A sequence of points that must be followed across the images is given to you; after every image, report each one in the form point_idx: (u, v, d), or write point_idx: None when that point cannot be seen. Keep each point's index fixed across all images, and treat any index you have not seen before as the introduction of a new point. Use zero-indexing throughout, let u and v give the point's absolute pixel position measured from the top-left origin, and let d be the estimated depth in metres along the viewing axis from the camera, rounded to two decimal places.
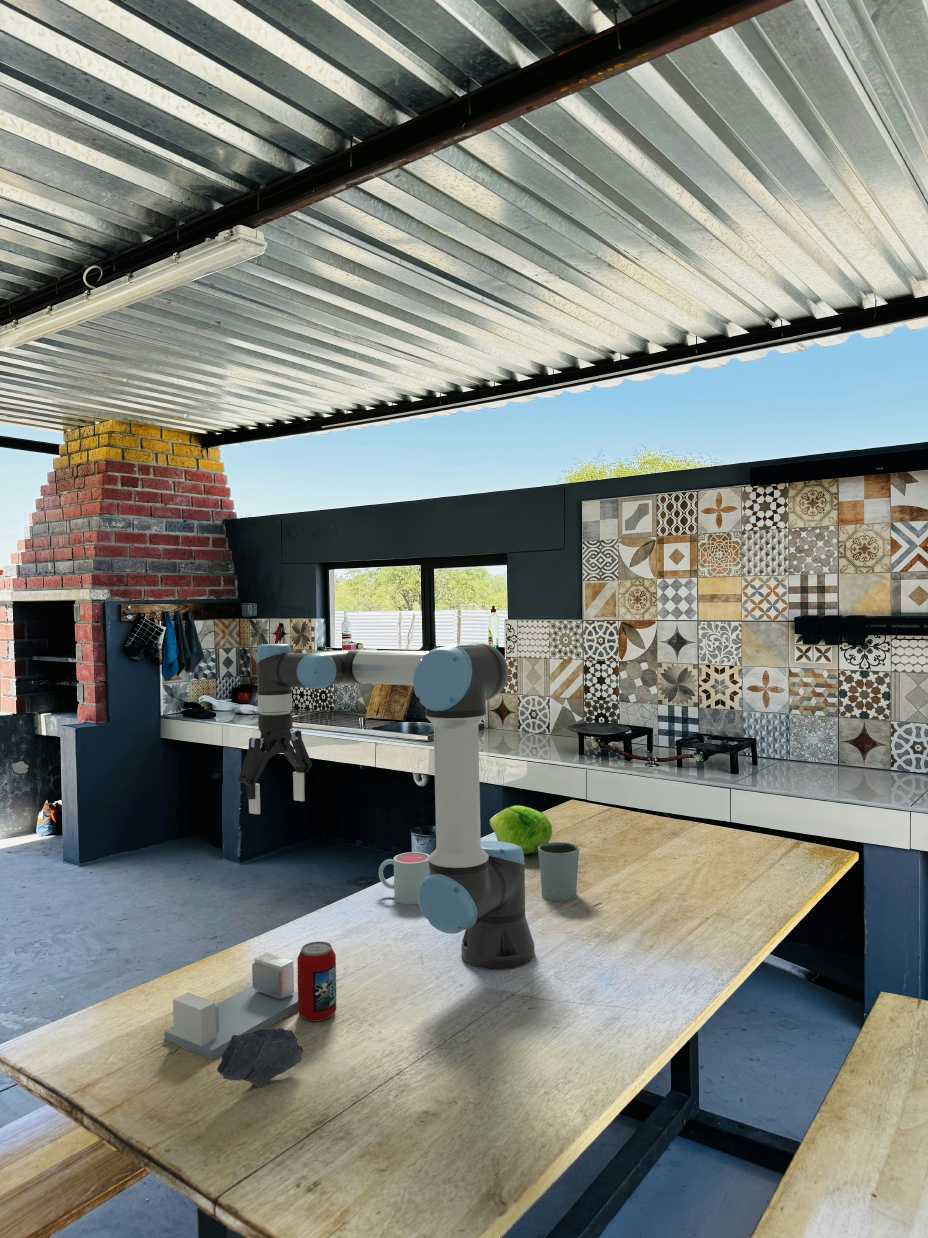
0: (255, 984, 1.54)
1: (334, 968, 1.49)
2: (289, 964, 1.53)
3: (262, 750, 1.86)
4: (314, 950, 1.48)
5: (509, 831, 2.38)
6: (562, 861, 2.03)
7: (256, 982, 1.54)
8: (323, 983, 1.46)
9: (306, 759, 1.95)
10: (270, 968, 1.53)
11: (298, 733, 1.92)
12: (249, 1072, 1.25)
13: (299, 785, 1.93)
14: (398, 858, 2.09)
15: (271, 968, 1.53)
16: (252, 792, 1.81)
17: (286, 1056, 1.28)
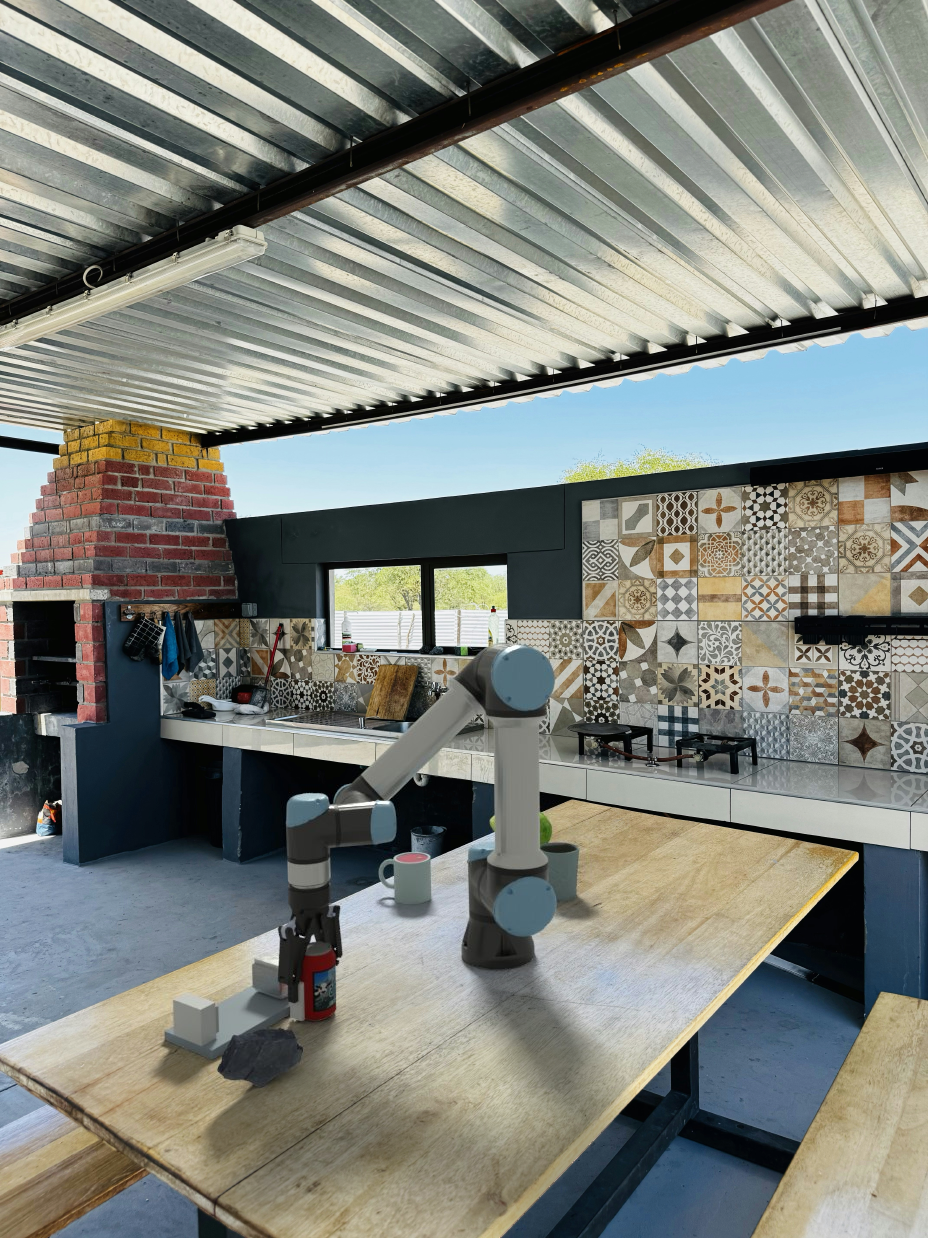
0: (255, 984, 1.54)
1: (334, 968, 1.49)
2: None
3: (296, 933, 1.49)
4: (313, 950, 1.49)
5: None
6: (562, 861, 2.03)
7: (256, 982, 1.54)
8: (322, 983, 1.46)
9: (338, 945, 1.54)
10: (270, 968, 1.53)
11: (337, 909, 1.54)
12: (249, 1072, 1.25)
13: None
14: (398, 858, 2.09)
15: (271, 968, 1.53)
16: (295, 994, 1.46)
17: (286, 1056, 1.28)
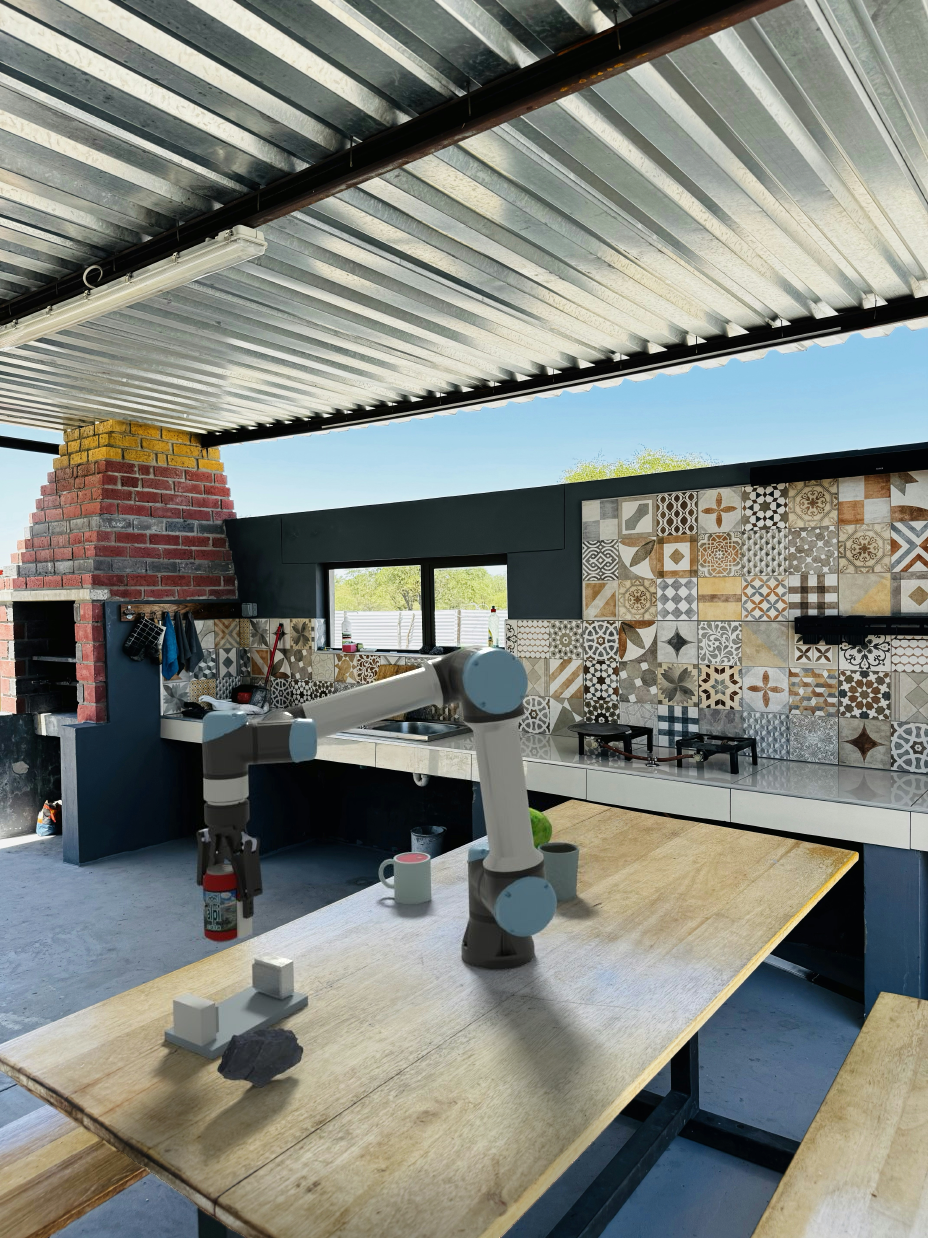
0: (255, 984, 1.54)
1: (213, 894, 1.42)
2: (289, 964, 1.53)
3: None
4: (218, 868, 1.45)
5: None
6: (562, 861, 2.03)
7: (256, 982, 1.54)
8: (203, 901, 1.43)
9: (247, 883, 1.42)
10: (270, 968, 1.53)
11: (245, 843, 1.42)
12: (249, 1072, 1.25)
13: None
14: (398, 858, 2.08)
15: (271, 968, 1.53)
16: None
17: (286, 1056, 1.28)
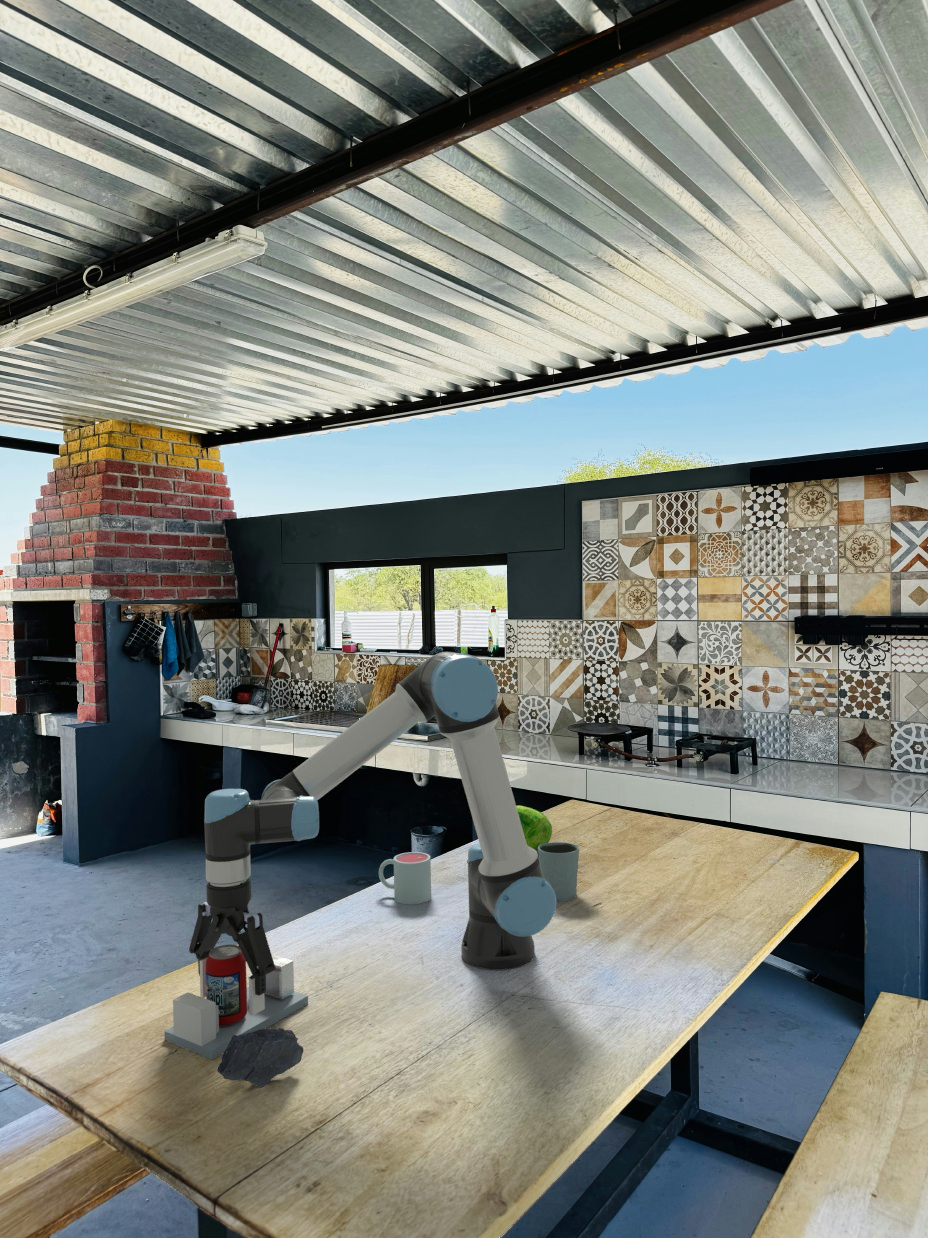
0: None
1: (216, 979, 1.42)
2: (289, 964, 1.53)
3: None
4: (221, 951, 1.45)
5: None
6: (562, 861, 2.03)
7: None
8: (206, 984, 1.44)
9: (257, 961, 1.41)
10: None
11: (247, 920, 1.42)
12: (249, 1072, 1.25)
13: None
14: (398, 858, 2.09)
15: None
16: (199, 967, 1.50)
17: (286, 1056, 1.28)
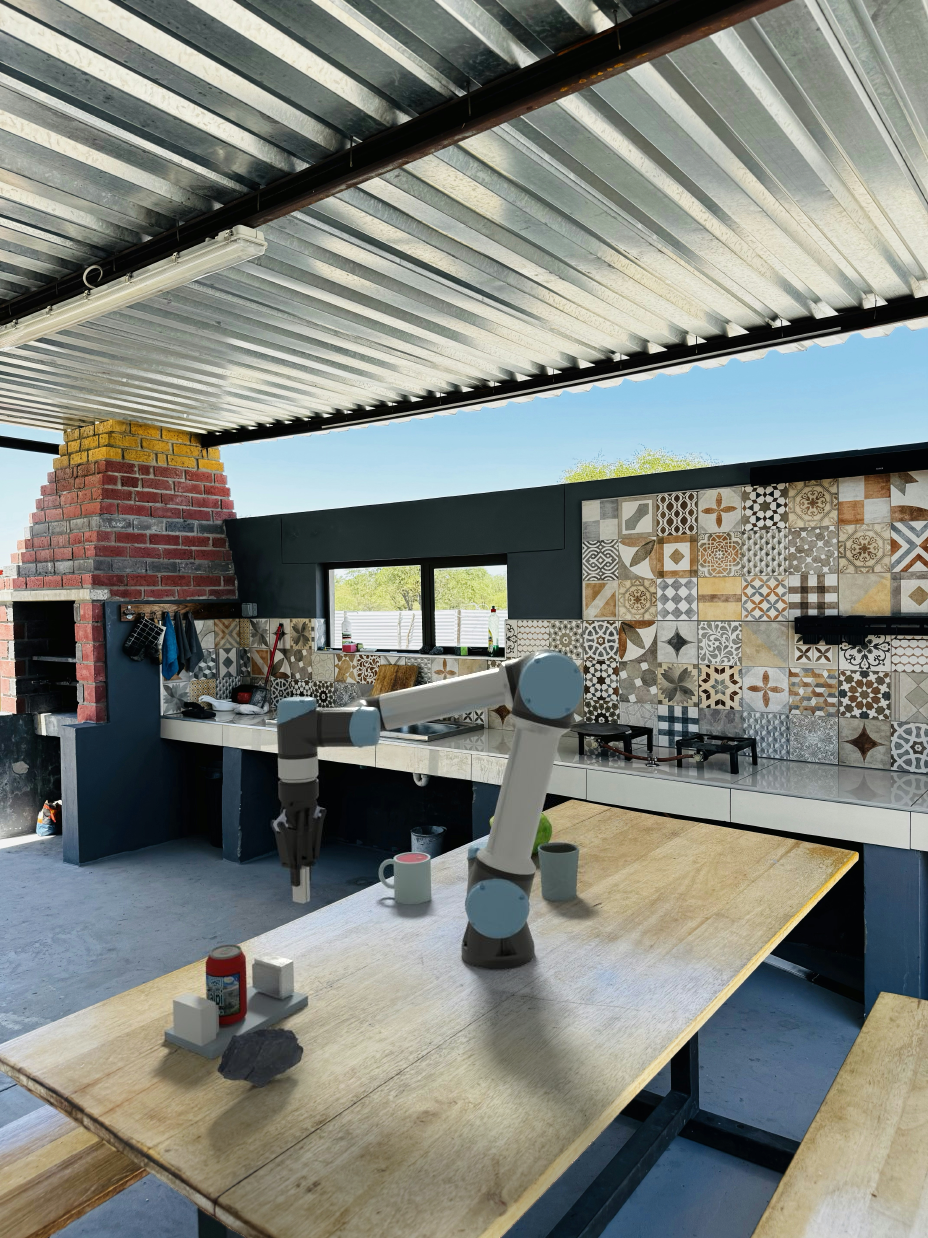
0: (255, 984, 1.54)
1: (216, 979, 1.42)
2: (289, 964, 1.53)
3: None
4: (221, 951, 1.45)
5: None
6: (562, 861, 2.03)
7: (256, 982, 1.54)
8: (206, 984, 1.44)
9: (316, 846, 1.63)
10: (270, 968, 1.53)
11: (323, 811, 1.64)
12: (249, 1072, 1.25)
13: None
14: (398, 858, 2.09)
15: (271, 968, 1.53)
16: (297, 878, 1.59)
17: (286, 1056, 1.28)
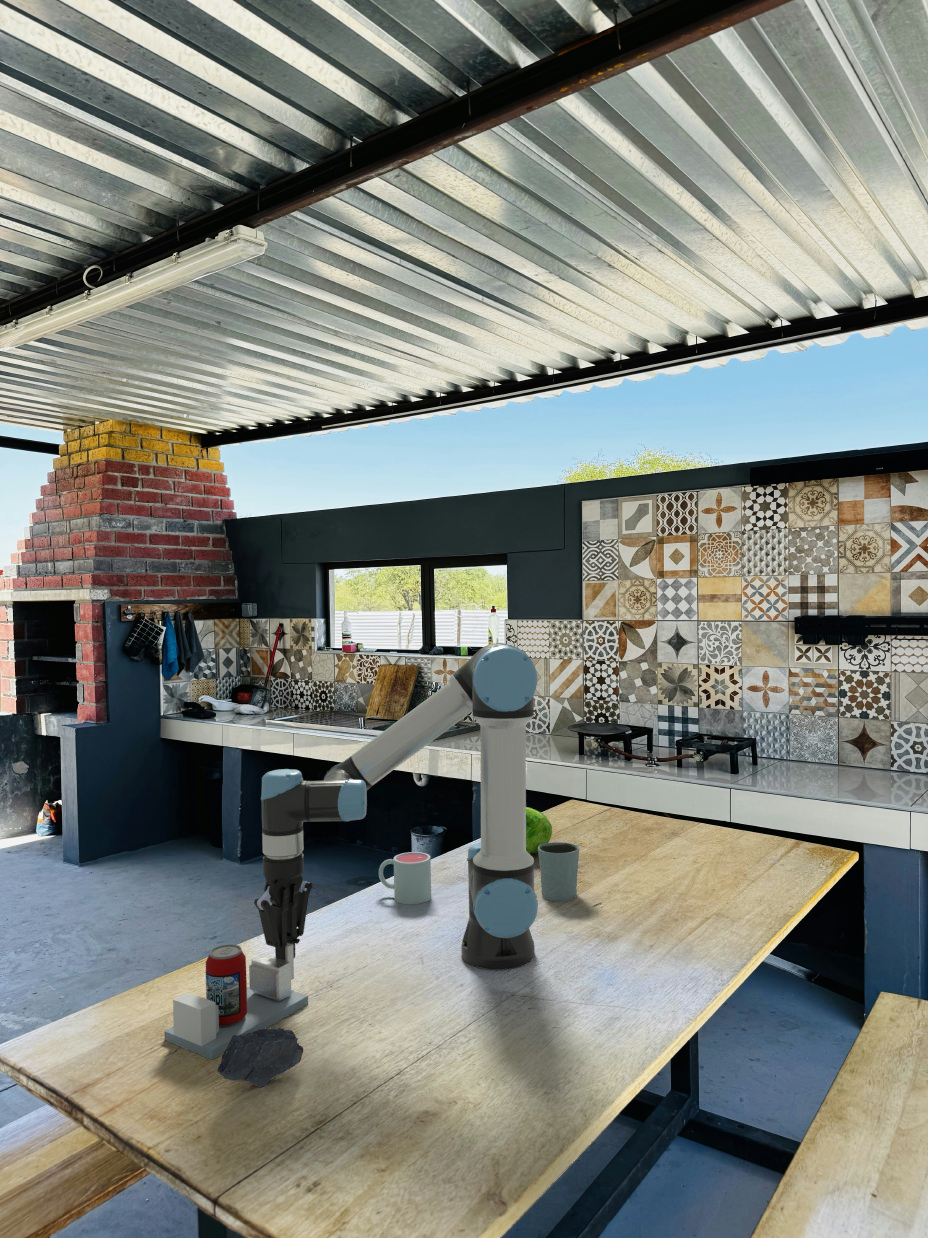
0: (252, 985, 1.54)
1: (216, 979, 1.42)
2: (286, 965, 1.53)
3: None
4: (221, 951, 1.45)
5: None
6: (562, 861, 2.03)
7: (253, 983, 1.54)
8: (206, 984, 1.44)
9: (301, 922, 1.59)
10: (267, 969, 1.52)
11: (309, 885, 1.61)
12: (249, 1072, 1.25)
13: None
14: (398, 858, 2.09)
15: (268, 969, 1.52)
16: (282, 956, 1.56)
17: (286, 1056, 1.28)
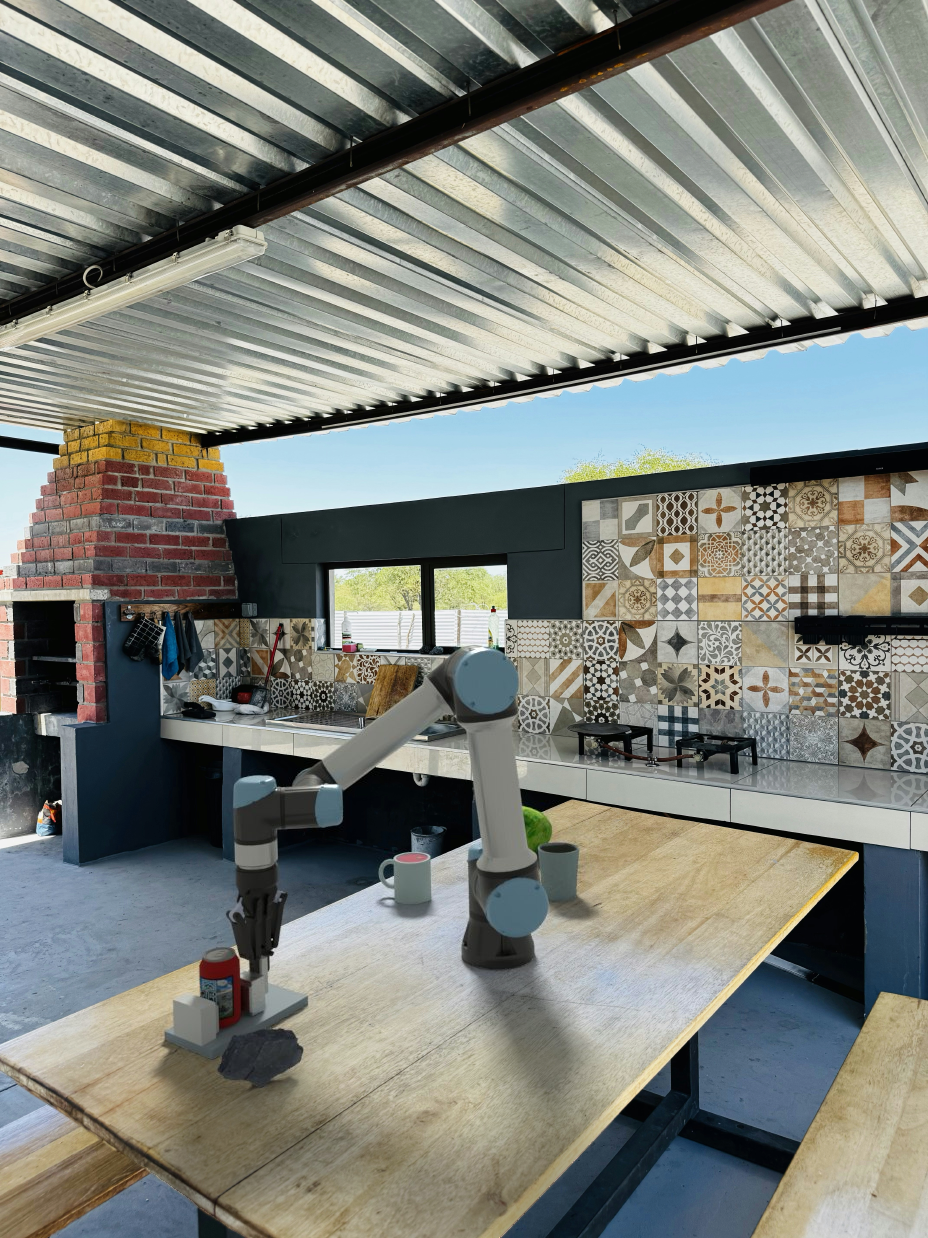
0: None
1: (209, 982, 1.41)
2: (260, 979, 1.47)
3: None
4: (215, 954, 1.44)
5: None
6: (562, 861, 2.03)
7: None
8: None
9: (276, 934, 1.54)
10: (240, 983, 1.47)
11: (284, 895, 1.55)
12: (249, 1072, 1.25)
13: (261, 973, 1.51)
14: (398, 858, 2.09)
15: (241, 983, 1.47)
16: (256, 969, 1.50)
17: (286, 1056, 1.28)
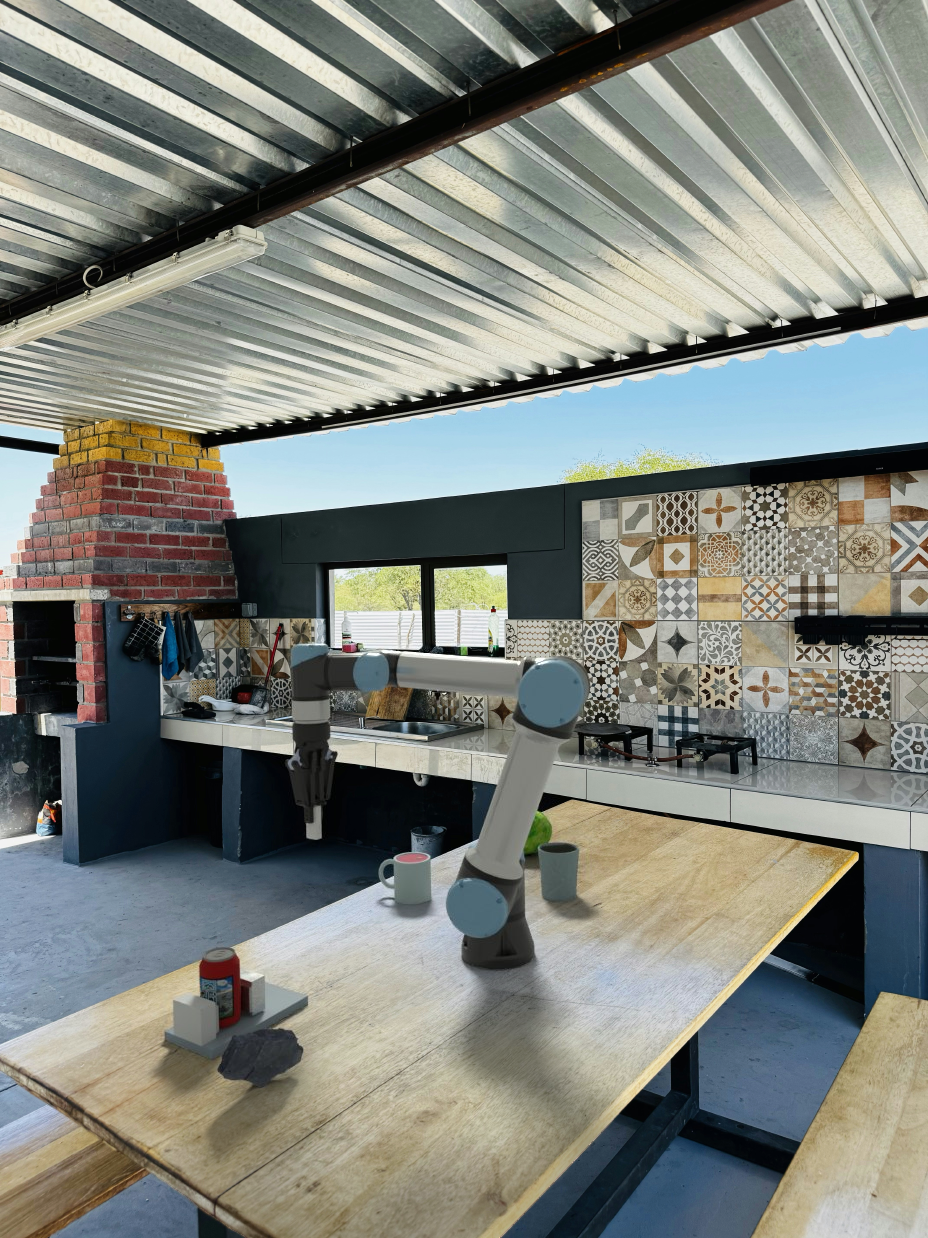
0: None
1: (210, 982, 1.41)
2: (260, 979, 1.47)
3: None
4: (215, 954, 1.44)
5: None
6: (562, 861, 2.03)
7: None
8: None
9: (328, 787, 1.70)
10: (240, 983, 1.47)
11: (335, 753, 1.72)
12: (249, 1072, 1.25)
13: None
14: (398, 858, 2.09)
15: (241, 983, 1.47)
16: (310, 816, 1.66)
17: (286, 1056, 1.28)
